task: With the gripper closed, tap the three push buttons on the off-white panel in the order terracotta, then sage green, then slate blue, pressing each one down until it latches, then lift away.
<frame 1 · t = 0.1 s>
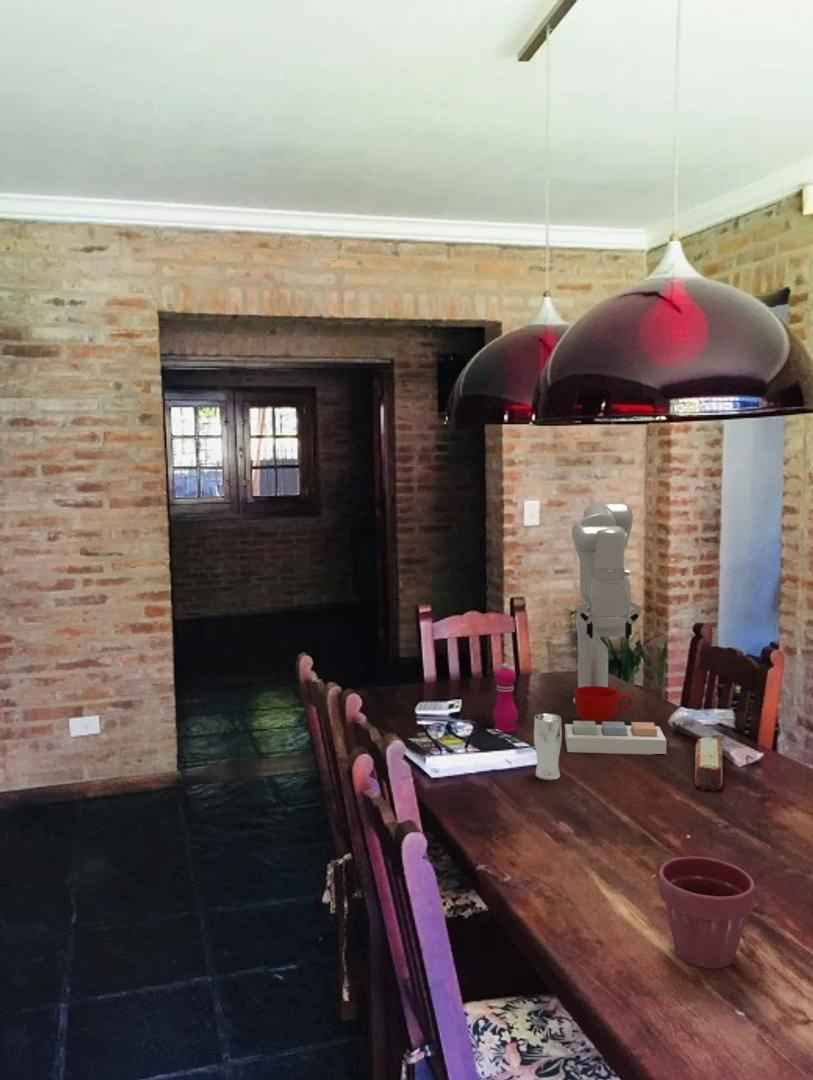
hand: (609, 637, 227), 31 cm above the table, tool pointing down, fingers open, 9 cm apart
button panel: (614, 746, 232), on the table
plant pot: (704, 953, 134), on the table
pepper mill: (505, 730, 248), on the table
ceramic cup: (602, 724, 252), on the table
beer glass: (547, 776, 211), on the table
button terracotta: (643, 730, 231), point 5 cm above the table, slide at 0.0 cm
snack package: (709, 776, 210), on the table
button slate: (614, 729, 232), point 5 cm above the table, slide at 0.0 cm
button sage: (584, 728, 233), point 5 cm above the table, slide at 0.0 cm
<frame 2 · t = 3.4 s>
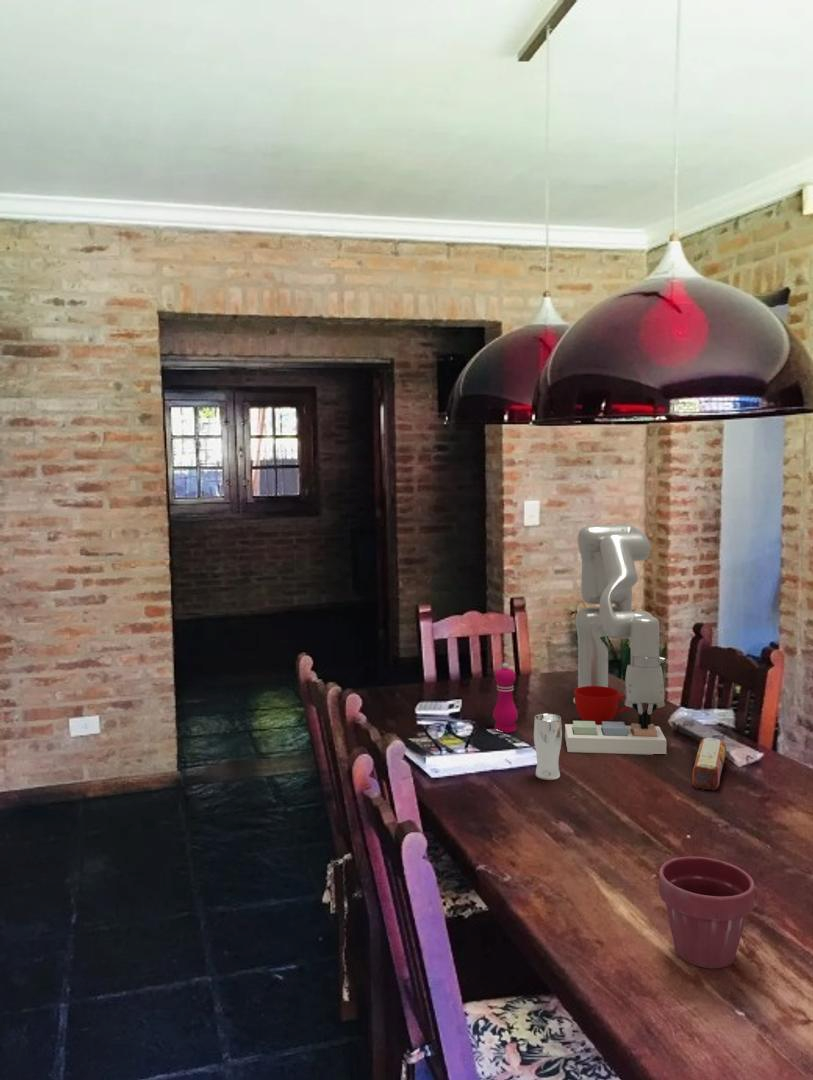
hand: (644, 727, 231), 6 cm above the table, tool pointing down, fingers closed
button terracotta: (643, 731, 231), point 4 cm above the table, slide at 0.4 cm, touching gripper
everything else where it was.
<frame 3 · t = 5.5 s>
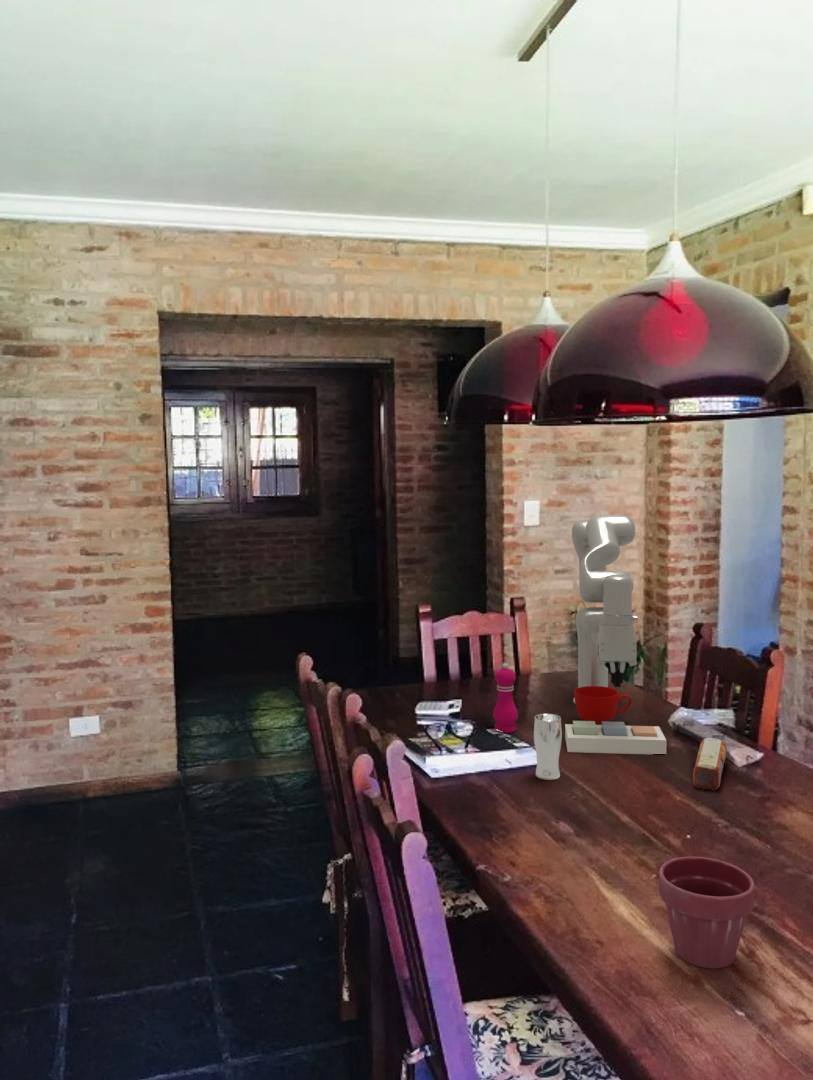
hand: (616, 685, 231), 17 cm above the table, tool pointing down, fingers closed
button terracotta: (643, 733, 231), point 4 cm above the table, slide at 1.1 cm
everything else where it was.
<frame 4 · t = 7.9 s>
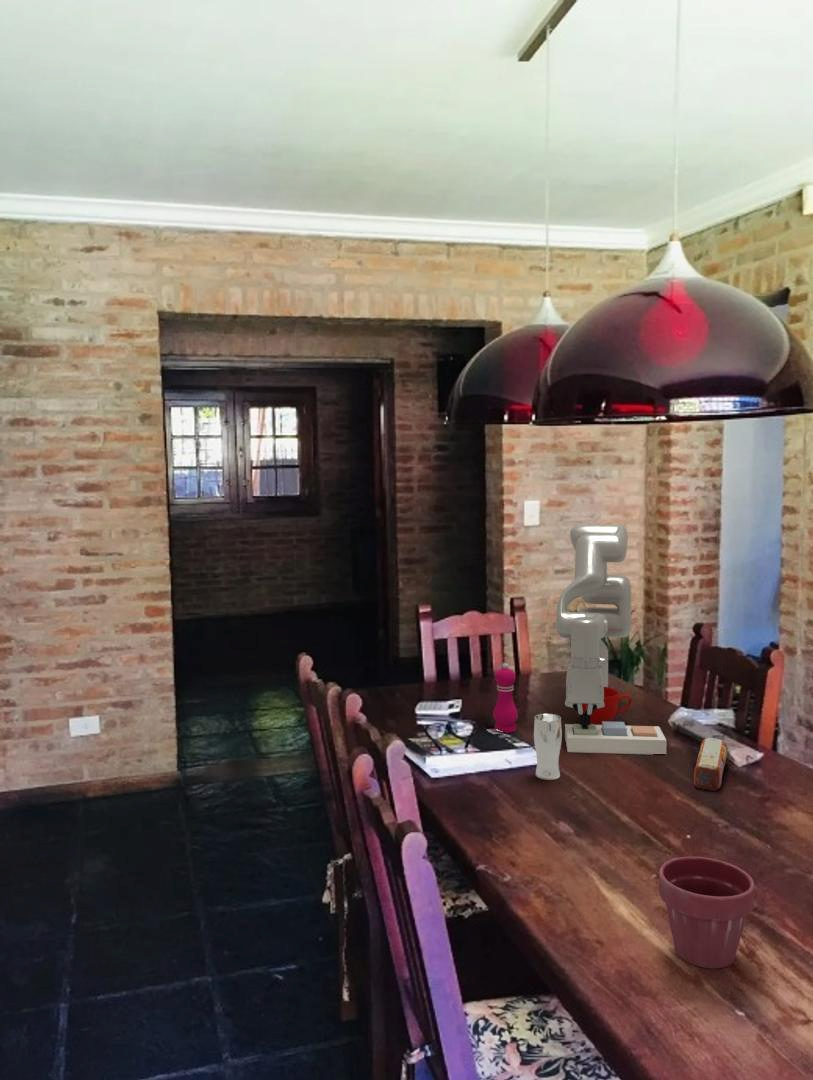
hand: (584, 727, 233), 5 cm above the table, tool pointing down, fingers closed
button sage: (584, 731, 233), point 4 cm above the table, slide at 0.9 cm, touching gripper
everything else where it was.
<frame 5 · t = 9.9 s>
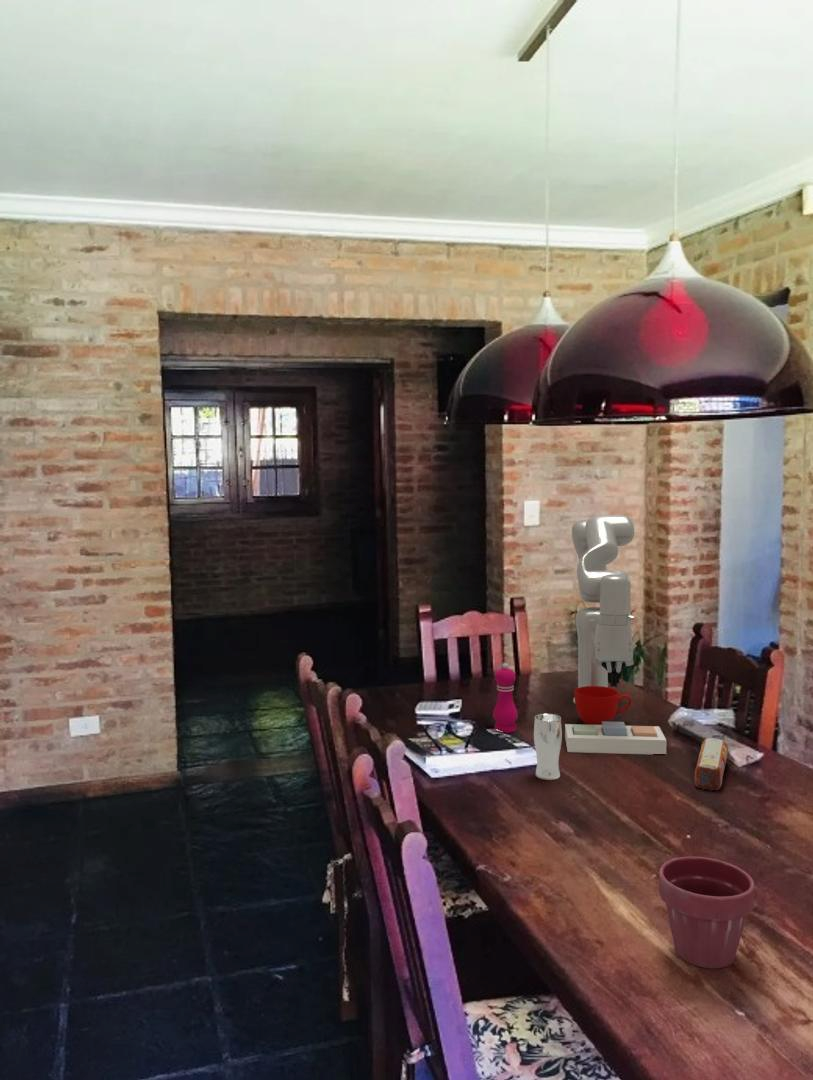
hand: (613, 685, 231), 17 cm above the table, tool pointing down, fingers closed
button sage: (584, 732, 233), point 4 cm above the table, slide at 1.1 cm
everything else where it was.
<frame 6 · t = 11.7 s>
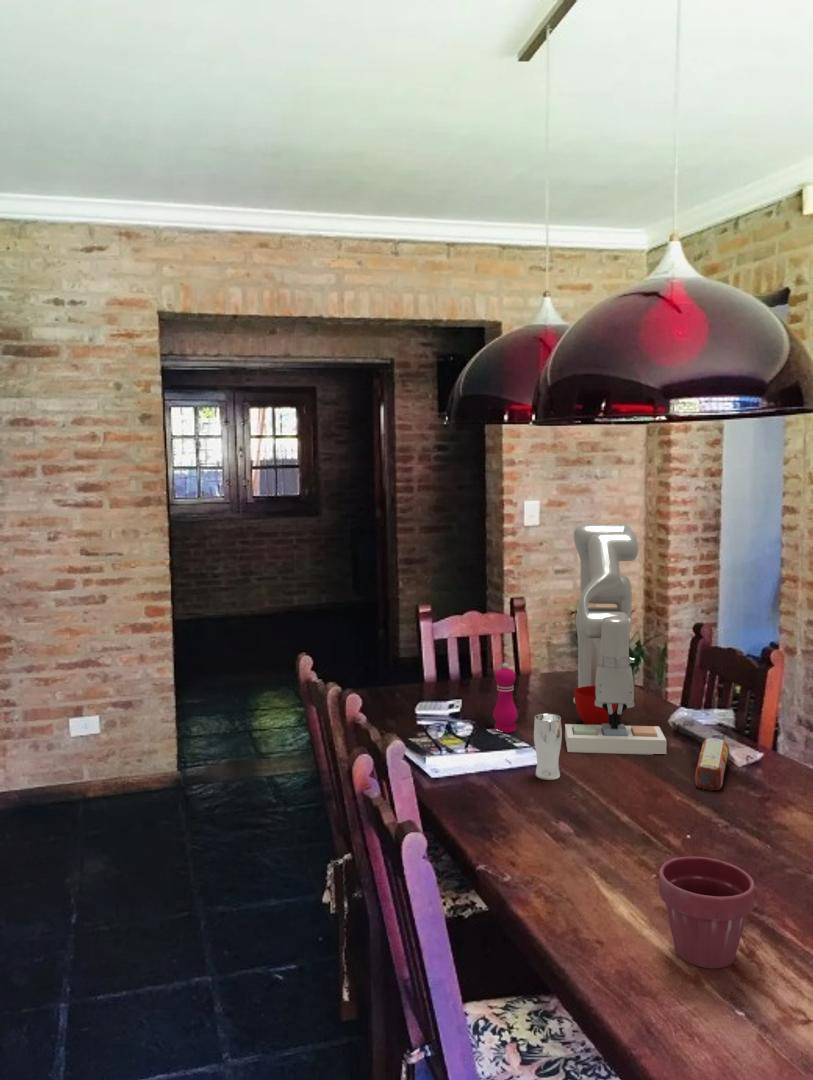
hand: (614, 727, 232), 5 cm above the table, tool pointing down, fingers closed
button slate: (614, 731, 232), point 4 cm above the table, slide at 0.6 cm, touching gripper
everything else where it was.
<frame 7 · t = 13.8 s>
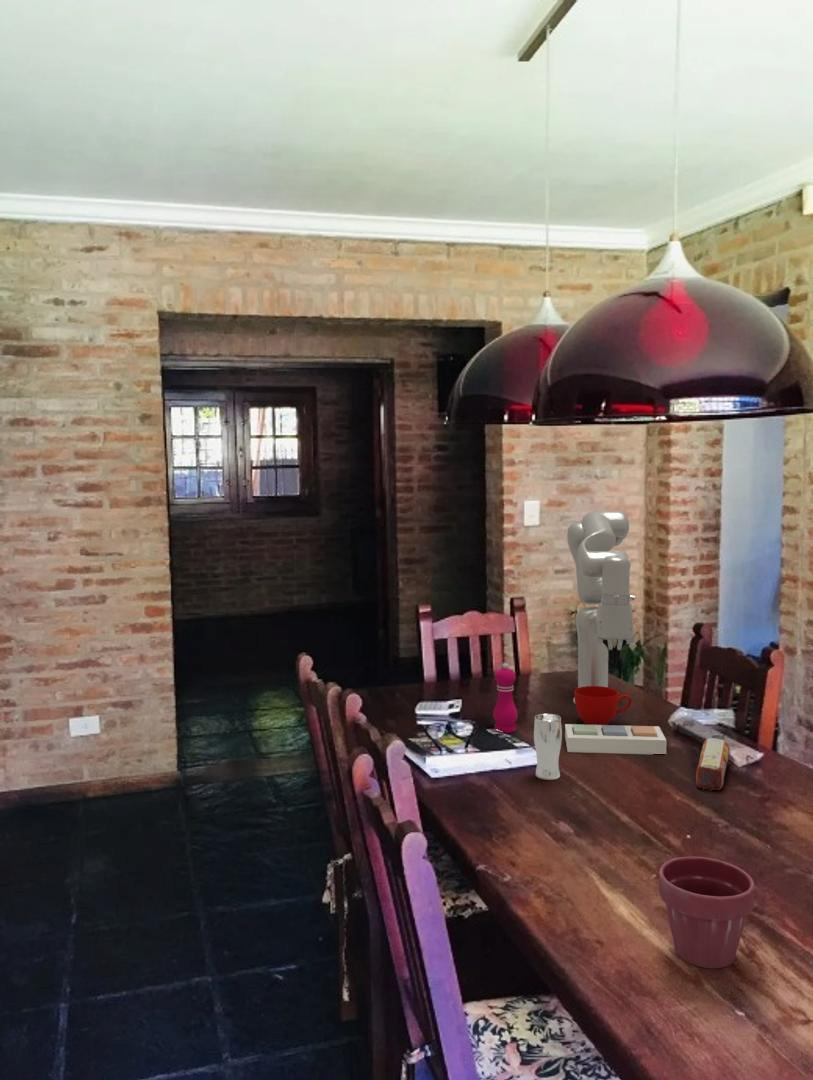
hand: (614, 662, 239), 21 cm above the table, tool pointing down, fingers closed
button slate: (614, 733, 232), point 4 cm above the table, slide at 1.1 cm
everything else where it was.
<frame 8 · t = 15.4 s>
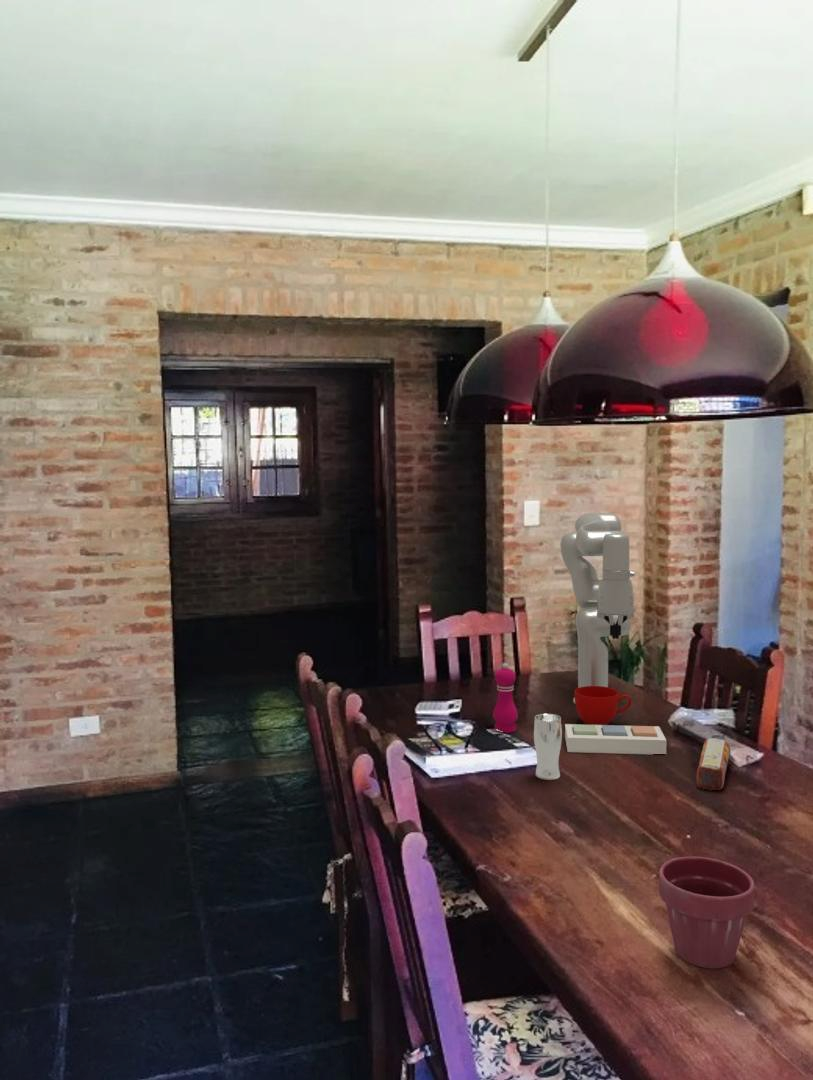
hand: (615, 637, 245), 27 cm above the table, tool pointing down, fingers closed
at the end: button terracotta slide at 1.1 cm; button sage slide at 1.1 cm; button slate slide at 1.1 cm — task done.
